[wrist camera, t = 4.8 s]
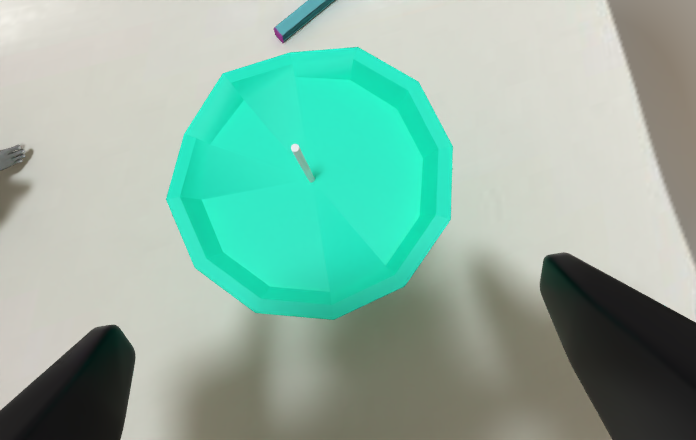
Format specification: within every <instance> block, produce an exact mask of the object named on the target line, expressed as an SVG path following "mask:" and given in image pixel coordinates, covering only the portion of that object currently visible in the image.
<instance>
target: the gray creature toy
mask: <svg viewBox="0 0 696 440" xmlns="http://www.w3.org/2000/svg"><path fill="white" fill-rule="evenodd" d="M19 149H20V150H19ZM16 150H18V151H16ZM13 151H15V152H13ZM22 153H25V151H24V149H21V147H20V145H16V146H14V147H11V148H8V149H4V150H0V170H4V169H6V168H8V167H10V166H12V165H14V164H16V163H21V162H22V161H23V160H22V159H20V158H24V157H26V156H25V154H22ZM20 154H21V155H20ZM17 155H18V156H17ZM14 156H15V157H14Z"/></svg>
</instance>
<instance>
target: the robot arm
mask: <svg viewBox="0 0 696 440" xmlns="http://www.w3.org/2000/svg"><path fill="white" fill-rule="evenodd" d="M540 291H541V295H542V297H543V300H544V302H545V305H546V307H547V309H548V312H549V314H550V317H551V319H552V321H553V324H554V326H555V329H556V331H557V333H558V336H559V338H560V341H561V343H562V345H563V348H564V350H565V352H566V355H567V357H568V359H569V361H570V363H571V365H572V367H573V369H574V371H575V373H576V375H577V376H578V378H579V380H580V382H581V384H582V385H583V387H584V389H585V391H586V393H587V394H588V396H589V398H590V400H591V402H592V403H593V405H594V407H595V409H596V411H597V412H598V414H599V416H600V418H601V420H602V422H603V423H604V425H605V427H606V429H607V431H608V432H609V434H610V436H611V438H612V440H696V323H695V322H694V321H692V320H690V319H688V318H686V317H684V316H683V315H681V314H679V313H677V312H675V311H673V310H672V309H670V308H668V307H666V306H664V305H662V304H661V303H659V302H657V301H655V300H653V299H651V298H650V297H648V296H646V295H644V294H642V293H640V292H639V291H637V290H635V289H633V288H631V287H629V286H628V285H626V284H624V283H622V282H620V281H618V280H617V279H615V278H613V277H611V276H609V275H607V274H606V273H604V272H602V271H600V270H598V269H596V268H595V267H593V266H591V265H589V264H587V263H585V262H584V261H582V260H580V259H578V258H576V257H574V256H573V255H571V254H568V253H557V254H551V255H547V256H546V257H545V258H544V261H543V267H542V273H541V279H540ZM134 364H135V351H134V348H133V346H132V345H131V343H130V342H129V341H128V339H127V338H126V336H125V335H124V333H123V332H122V331H121V329H120V328H119V327H118V326H116V325H107V326H101V327H96V328H94V329H93V330H91V331H90V332H89V333H88V334H87V335H86V336H84V337H83V338H82V339H81V340H80V341H79V342H78V343H77V344H75V345H74V346H73V347H72V348H71V349H70V350H69V351H67V352H66V353H65V354H64V355H63V356H62V357H61V358H59V359H58V360H57V361H56V362H55V363H54V364H53V365H52V366H50V367H49V368H48V369H47V370H46V371H45V372H44V373H42V374H41V375H40V376H39V377H38V378H37V379H36V380H34V381H33V382H32V383H31V384H30V385H29V386H28V387H27V388H25V389H24V390H23V391H22V392H21V393H20V394H19V395H17V396H16V397H15V398H14V399H13V400H12V401H11V402H9V403H8V404H7V405H6V406H5V407H4V408H3V409H2V410H0V440H120V439H121V435H122V431H123V427H124V422H125V417H126V411H127V405H128V399H129V394H130V388H131V382H132V376H133V370H134Z"/></svg>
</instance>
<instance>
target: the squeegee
mask: <svg viewBox="0 0 696 440" xmlns="http://www.w3.org/2000/svg"><path fill="white" fill-rule="evenodd" d="M333 1H335V0H308V1H307V2H305V3H304V4H303V5H302V6H300V7H299V8H298V9H297V10H296V11H294V12H293V13H292V14H291V15H289V16H288V17H287V18H286V19H284V20H283V21H282V22H281V23H279V24H278V25H277V26H276V27H275V28H274V32H275V35H276V36H277V37H278V38H279V39H280V41H281V42H282V43H283V42H284V41H285V40H287V39H288V38H289V37H290V36H292V35H293V34H294V33H295V32H296V31H298V30H299V29H300V28H301V27H303V26H304V25H305V24H306V23H308V22H309V21H310V20H311V19H312V18H314V17H315V16H316V15H317V14H319V13H320V12H321V11H322V10H323V9H325V8H326V7H327V6H328V5H330V4H331V3H332V2H333Z"/></svg>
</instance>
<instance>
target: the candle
mask: <svg viewBox="0 0 696 440" xmlns="http://www.w3.org/2000/svg"><path fill="white" fill-rule="evenodd" d="M452 153H453V146H452V144H451V142H450V140H449V138H448V137H447V135H446V133H445V131H444V129H443V127H442V125H441V123H440V121H439V119H438V118H437V116H436V114H435V112H434V110H433V108H432V106H431V104H430V102H429V100H428V99H427V97H426V95H425V93H424V91H423V89H422V87H421V85H420V83H419V82H418V81H416V80H415V79H413V78H411V77H409V76H408V75H406V74H404V73H402V72H401V71H399V70H397V69H395V68H394V67H392V66H390V65H388V64H387V63H385V62H383V61H381V60H380V59H378V58H376V57H374V56H373V55H371V54H369V53H367V52H366V51H364V50H362V49H360V48H359V47H353V48H340V49H328V50H315V51H302V52H290V53H287V54H284V55H281V56H277V57H274V58H271V59H268V60H264V61H261V62H258V63H255V64H252V65H248V66H245V67H242V68H239V69H236V70H232V71H229V72H226V73H223V74H222V76H221V77H220V79H219V80H218V82H217V83H216V85H215V87H214V88H213V90H212V91H211V93H210V94H209V96H208V98H207V99H206V101H205V102H204V104H203V105H202V107H201V109H200V110H199V112H198V113H197V115H196V116H195V118H194V120H193V121H192V123H191V124H190V126H189V127H188V129H187V131H186V132H185V134H184V137H183V140H182V144H181V148H180V151H179V155H178V158H177V162H176V166H175V169H174V173H173V176H172V180H171V183H170V187H169V191H168V194H167V198H166V200H167V203H168V205H169V208H170V210H171V212H172V215H173V217H174V219H175V222H176V224H177V227H178V229H179V231H180V234H181V236H182V238H183V241H184V243H185V246H186V248H187V250H188V253H189V255H190V257H191V260H192V262H193V265H194V267H195V268H196V269H197V270H198V271H200V272H201V273H202V274H204V275H205V276H206V277H208V278H209V279H210V280H212V281H213V282H215V283H216V284H217V285H219V286H220V287H221V288H223V289H224V290H225V291H227V292H228V293H229V294H231V295H232V296H233V297H235V298H236V299H237V300H239V301H240V302H241V303H243V304H244V305H246V306H247V307H248V308H250V309H251V310H252V311H254V312H255V313H262V314H273V315H284V316H296V317H307V318H318V319H329V320H335V319H337V318H339V317H341V316H343V315H345V314H347V313H349V312H352V311H354V310H356V309H358V308H360V307H362V306H364V305H366V304H369V303H371V302H373V301H375V300H377V299H379V298H381V297H383V296H385V295H388V294H390V293H392V292H394V291H396V290H398V289H400V288H402V287H404V286H405V285H406V284H407V282H408V281H409V280H410V278H411V277H412V275H413V274H414V272H415V271H416V269H417V268H418V266H419V265H420V264H421V262H422V261H423V259H424V258H425V256H426V255H427V253H428V252H429V250H430V249H431V248H432V246H433V245H434V243H435V242H436V240H437V239H438V237H439V236H440V234H441V233H442V231H443V230H444V229H445V227H446V226H447V224H448V223H449V221H450V220H451V188H452Z"/></svg>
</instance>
